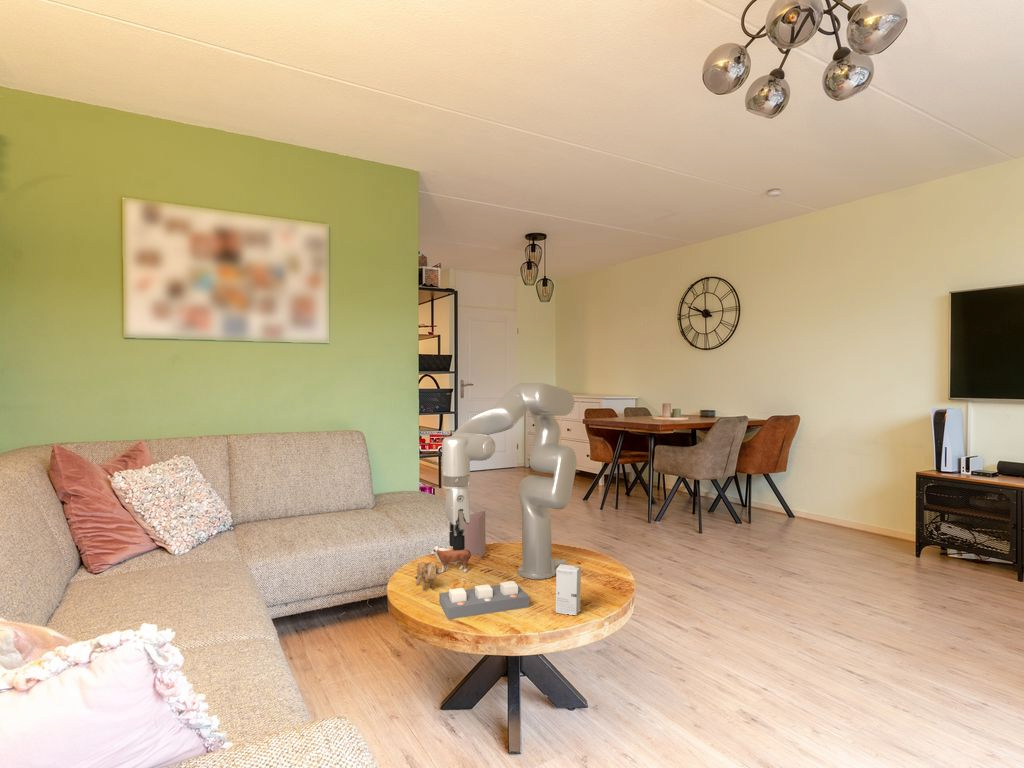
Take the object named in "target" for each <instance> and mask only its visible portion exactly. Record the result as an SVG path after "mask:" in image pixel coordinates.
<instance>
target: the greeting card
mask: <svg viewBox="0 0 1024 768" xmlns="http://www.w3.org/2000/svg"><path fill="white" fill-rule="evenodd" d="M464 526H465V529H464V533H465V549H468V550H469V551H470V552H471V557H472V556H475V555H478V561H479V562H480V561H481V560H482V559H483V556H484V555H485V553H486V552H487V550H486V549H487V548H486V547H487V544H486V543H487V542H486V538H487V535H486V531H487V530H486V510H481V511H477V512H475V513H470V523H469V524H467V523H466V522H465V521H464ZM469 556H470V554H469Z"/></svg>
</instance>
